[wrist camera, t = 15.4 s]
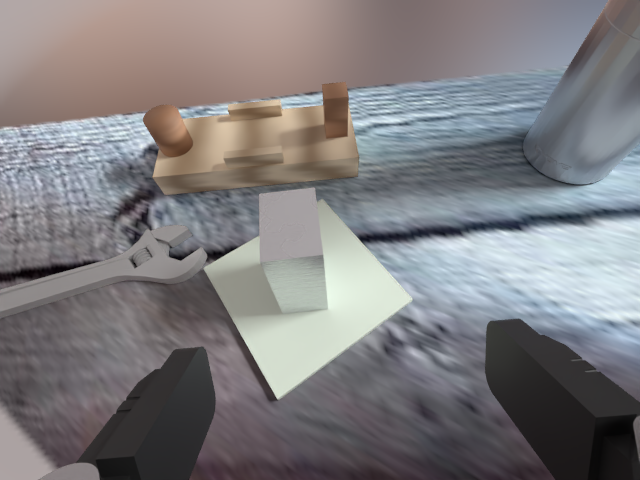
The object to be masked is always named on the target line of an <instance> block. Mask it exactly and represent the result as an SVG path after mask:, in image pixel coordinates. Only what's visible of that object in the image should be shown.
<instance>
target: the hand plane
mask: <svg viewBox="0 0 640 480" xmlns="http://www.w3.org/2000/svg"><path fill="white" fill-rule="evenodd" d="M322 90H323V105H322V106H312V107H302V108H292V109H282V108H281V102H280V100H270V101H260V102H250V103H240V104H229V105H228V112H229V115H220V116H209V117H199V118H189V119H182V118H181V115H180V113H179V111H178V109H177V108H176V107H174V106H172V105H160V106H157V107H154V108H152V109H151V110H149V111H148V112H147V113H146V114H145V116H144V118H143V122H144V124H145V126H146V127H147V129H148V131H149V132H150V134H151V135H152V137H153V139H154V140H155V142H156V144H157V145H158V147H159V152H158V156H157V160H156V164H155V169H154V173H153V179H154V180H155V182H156V183H157V185H158V186H159V187H160V189H161V190H162V192H163V193H164V194H165V195H172V194H182V193H193V192H203V191H213V190H224V189H234V188H244V187H255V186H265V185H275V184H286V183H296V182H306V181H317V180H327V179H337V178H348V177H358V165H359V155H358V150H357V144H356V139H355V134H354V129H353V124H352V119H351V114H350V108H349V103H348V100H349V96H348V91H347V86H346V83H345V82H342V83H341V82H340V83H330V84H323V85H322Z"/></svg>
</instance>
